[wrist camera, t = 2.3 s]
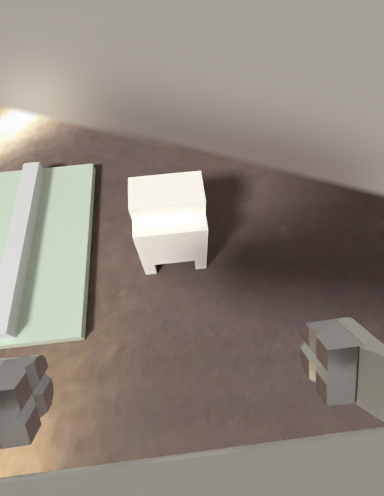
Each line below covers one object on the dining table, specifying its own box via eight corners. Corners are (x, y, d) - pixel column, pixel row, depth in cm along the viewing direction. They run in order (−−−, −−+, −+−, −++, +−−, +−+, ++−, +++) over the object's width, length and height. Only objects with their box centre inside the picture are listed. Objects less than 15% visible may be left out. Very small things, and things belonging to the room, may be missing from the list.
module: (206, 268, 28) (208, 218, 21) (145, 274, 28) (128, 226, 21) (200, 226, 30) (200, 168, 23) (144, 231, 30) (127, 175, 23)
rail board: (84, 339, 25) (74, 332, 23) (-65, 356, 24) (-89, 350, 22) (95, 170, 34) (89, 154, 32) (-12, 180, 34) (-26, 164, 32)
